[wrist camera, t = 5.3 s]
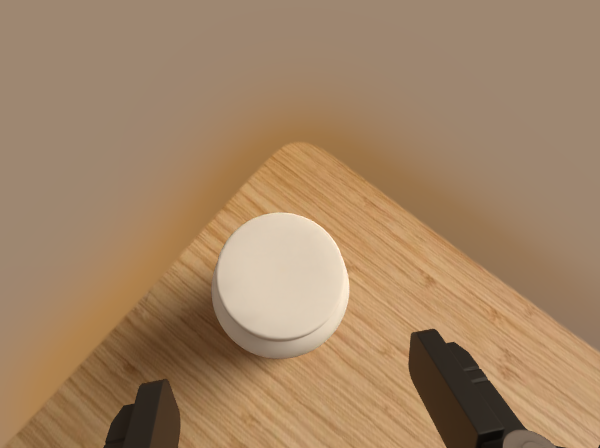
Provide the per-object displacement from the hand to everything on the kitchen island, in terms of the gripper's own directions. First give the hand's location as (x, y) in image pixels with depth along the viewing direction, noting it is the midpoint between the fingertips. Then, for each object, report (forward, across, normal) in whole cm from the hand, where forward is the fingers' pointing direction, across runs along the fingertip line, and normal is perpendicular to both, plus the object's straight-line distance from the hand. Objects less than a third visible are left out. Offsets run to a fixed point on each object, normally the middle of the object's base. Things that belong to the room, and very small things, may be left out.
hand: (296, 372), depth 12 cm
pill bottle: (+10, 0, -6) cm, 12 cm away
